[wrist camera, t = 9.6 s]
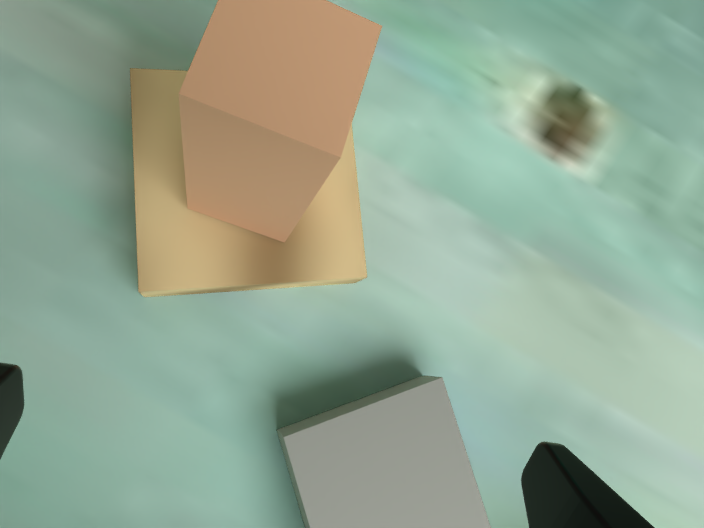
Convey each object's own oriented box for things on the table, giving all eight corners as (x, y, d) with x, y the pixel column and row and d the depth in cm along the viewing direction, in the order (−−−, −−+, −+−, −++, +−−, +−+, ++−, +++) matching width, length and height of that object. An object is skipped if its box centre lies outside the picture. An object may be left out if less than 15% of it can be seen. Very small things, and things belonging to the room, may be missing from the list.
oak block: (146, 298, 22) (138, 291, 20) (137, 97, 23) (129, 68, 21) (351, 284, 24) (367, 277, 22) (334, 103, 26) (346, 77, 23)
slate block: (323, 593, 22) (337, 622, 19) (275, 428, 22) (283, 437, 20) (466, 523, 24) (495, 542, 22) (419, 375, 24) (442, 377, 22)
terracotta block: (284, 242, 21) (340, 157, 13) (187, 208, 20) (178, 93, 12) (313, 157, 22) (382, 26, 14) (221, 121, 22) (235, -42, 13)
